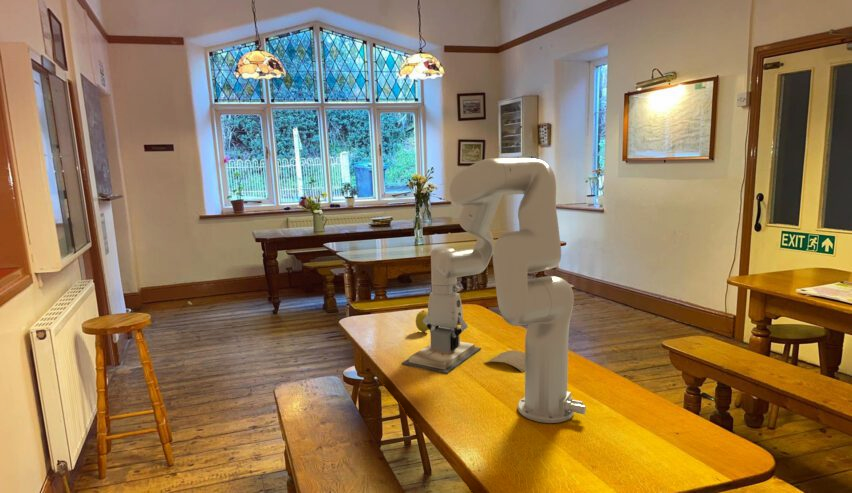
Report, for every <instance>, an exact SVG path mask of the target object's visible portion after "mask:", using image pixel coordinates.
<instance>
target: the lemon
mask: <svg viewBox="0 0 852 493" xmlns="http://www.w3.org/2000/svg"><path fill="white" fill-rule="evenodd" d="M427 314H428V311H426V310H424V309H422V310H421V311H419V312H418V313H417V314H416V317H415V326H416V328H417V329H418V330H419V331H421V332H422V333H423V334H425V333H426V332H427V331H430V330H429V329H428V328H427V325H425V324H424V322H423V319H424V318H425V317H426V316H427Z"/></svg>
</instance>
